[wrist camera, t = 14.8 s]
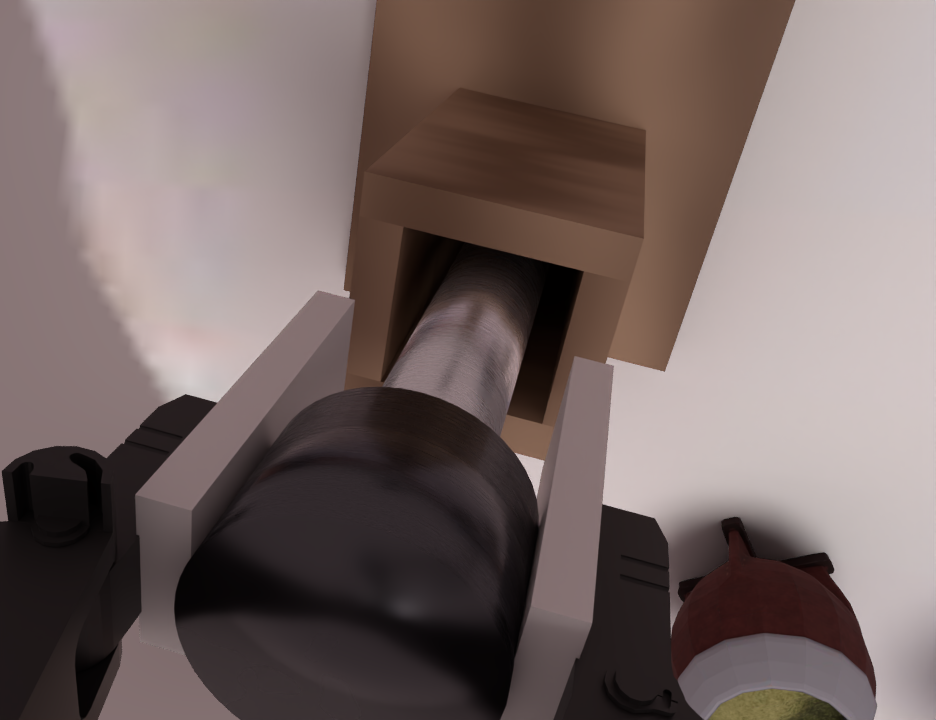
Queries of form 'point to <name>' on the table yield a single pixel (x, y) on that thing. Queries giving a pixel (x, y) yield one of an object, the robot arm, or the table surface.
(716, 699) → the mate gourd
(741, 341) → the table surface
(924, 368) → the table surface
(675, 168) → the stand
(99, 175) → the table surface
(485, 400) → the plunger
